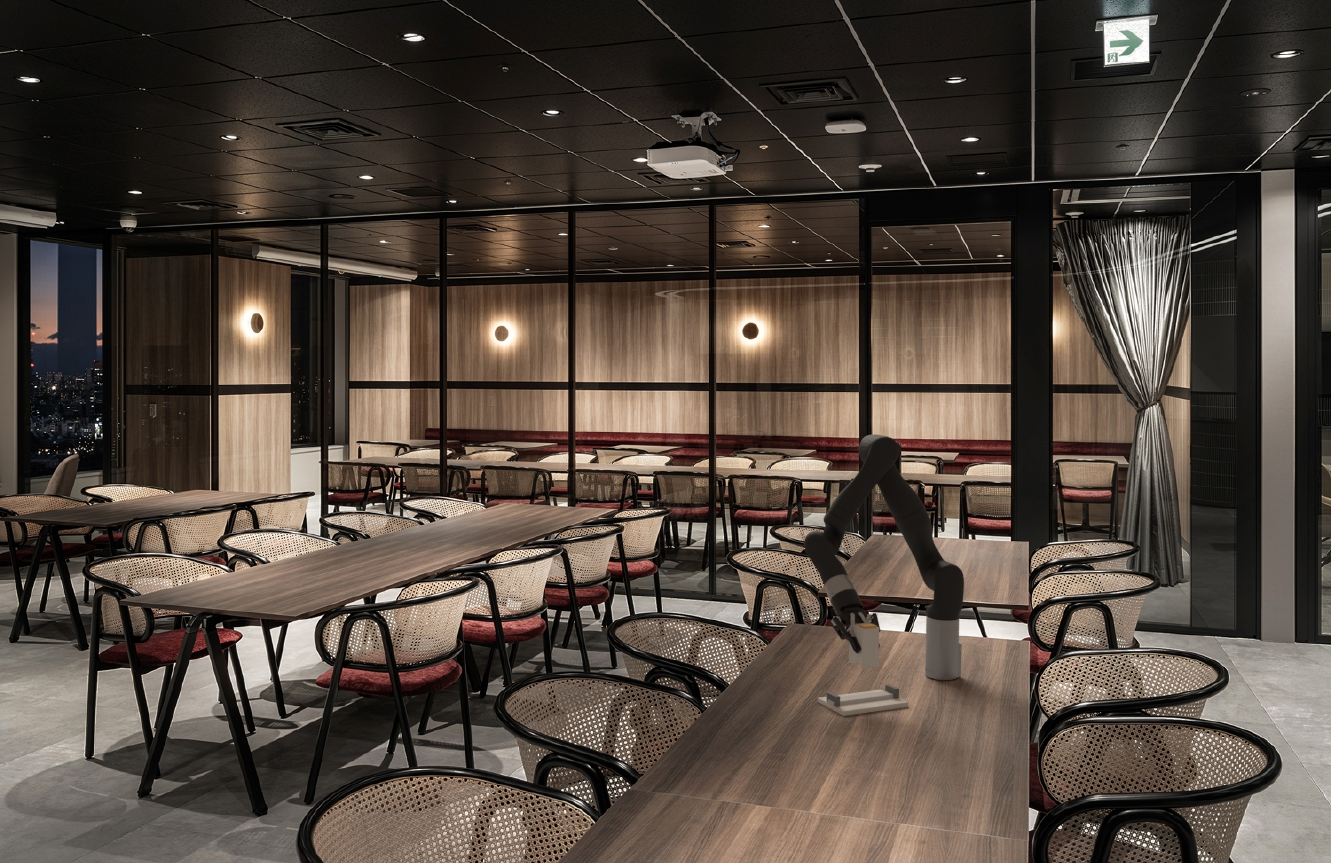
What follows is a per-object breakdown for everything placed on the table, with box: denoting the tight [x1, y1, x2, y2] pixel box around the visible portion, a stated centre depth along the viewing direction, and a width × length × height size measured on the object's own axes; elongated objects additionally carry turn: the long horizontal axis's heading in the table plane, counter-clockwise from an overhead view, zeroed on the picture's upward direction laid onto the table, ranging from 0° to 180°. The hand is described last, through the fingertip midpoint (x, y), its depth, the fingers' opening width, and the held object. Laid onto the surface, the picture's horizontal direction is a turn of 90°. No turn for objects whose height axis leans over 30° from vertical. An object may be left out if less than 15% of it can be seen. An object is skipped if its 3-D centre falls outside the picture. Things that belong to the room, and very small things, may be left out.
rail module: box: [848, 623, 880, 669], centre depth 264 cm, size 5×6×11 cm
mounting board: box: [817, 683, 910, 717], centre depth 264 cm, size 20×12×4 cm, turn 114°
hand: (868, 650), depth 262 cm, fingers closed on rail module, 5 cm apart
